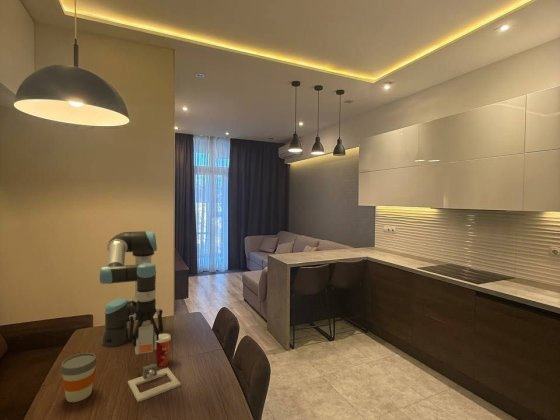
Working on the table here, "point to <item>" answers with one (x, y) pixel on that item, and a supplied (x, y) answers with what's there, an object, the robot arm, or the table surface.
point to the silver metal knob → (150, 372)
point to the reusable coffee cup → (78, 376)
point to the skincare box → (145, 338)
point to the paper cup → (163, 349)
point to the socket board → (146, 378)
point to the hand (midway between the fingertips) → (145, 350)
